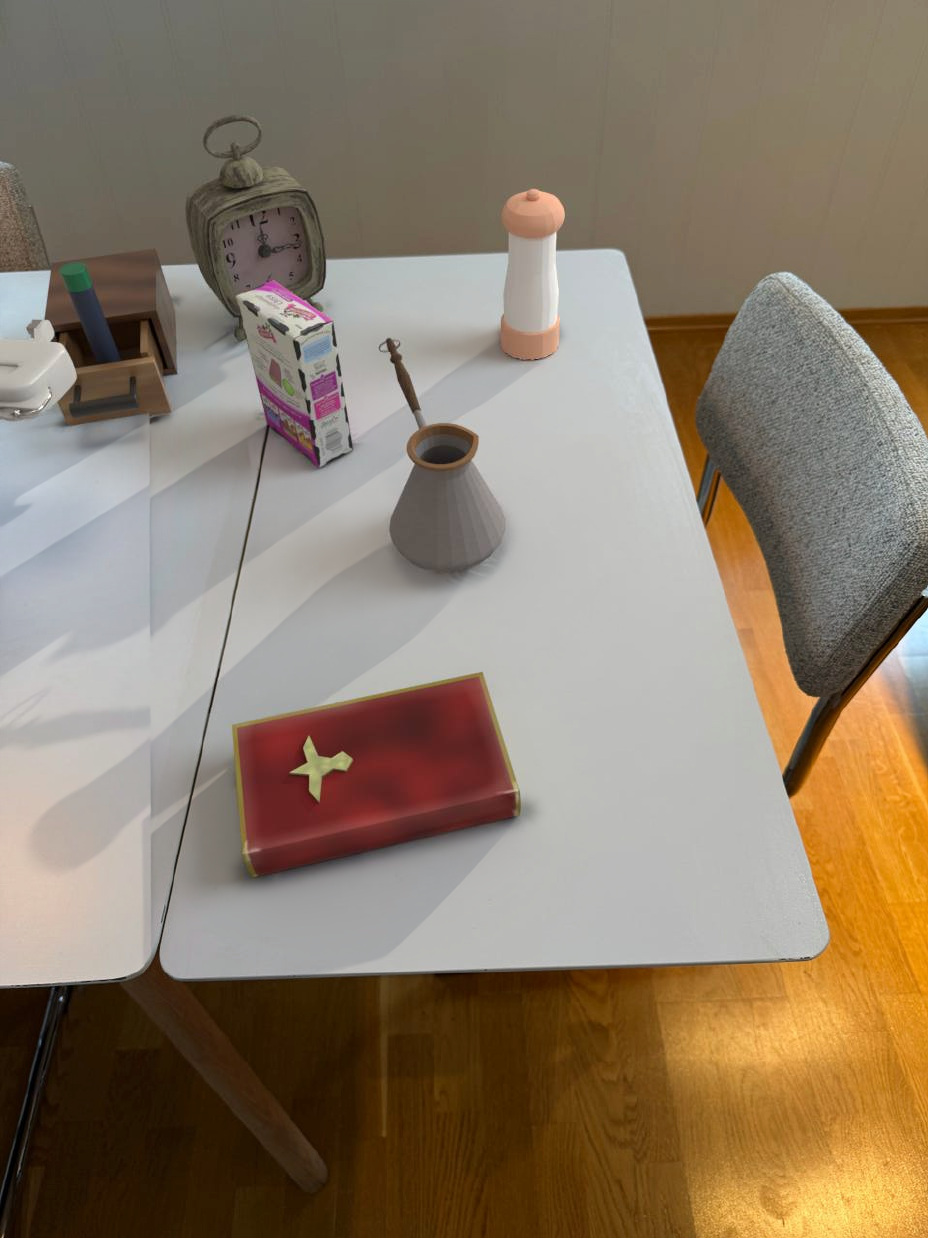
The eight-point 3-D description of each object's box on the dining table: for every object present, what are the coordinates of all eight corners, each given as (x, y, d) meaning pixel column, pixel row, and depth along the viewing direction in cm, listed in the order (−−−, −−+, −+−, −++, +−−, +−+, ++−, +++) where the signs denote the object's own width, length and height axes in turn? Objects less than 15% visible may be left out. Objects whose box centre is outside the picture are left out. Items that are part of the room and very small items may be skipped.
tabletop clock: (233, 351, 114) (177, 145, 95) (208, 318, 119) (151, 116, 100) (336, 316, 118) (303, 113, 99) (308, 286, 123) (272, 87, 104)
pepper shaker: (489, 350, 112) (488, 196, 97) (518, 321, 116) (521, 169, 101) (541, 367, 109) (547, 212, 95) (569, 337, 113) (578, 183, 99)
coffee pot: (523, 567, 88) (526, 447, 77) (413, 601, 86) (399, 482, 74) (448, 439, 101) (441, 320, 90) (351, 465, 99) (330, 347, 87)
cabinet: (177, 374, 111) (156, 309, 104) (71, 390, 110) (43, 326, 103) (175, 310, 120) (155, 247, 114) (77, 325, 119) (51, 262, 112)
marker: (107, 395, 105) (58, 276, 94) (108, 382, 107) (60, 263, 95) (130, 392, 106) (85, 272, 94) (131, 378, 107) (86, 259, 96)
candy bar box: (356, 450, 101) (336, 319, 88) (320, 470, 99) (293, 339, 86) (300, 405, 106) (273, 276, 94) (264, 423, 104) (232, 294, 92)
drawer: (172, 439, 101) (154, 388, 96) (67, 456, 100) (42, 405, 95) (169, 347, 113) (153, 297, 108) (75, 362, 112) (54, 312, 107)
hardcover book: (520, 819, 71) (521, 793, 68) (254, 882, 68) (242, 858, 65) (483, 698, 78) (482, 669, 75) (242, 750, 76) (230, 723, 73)
